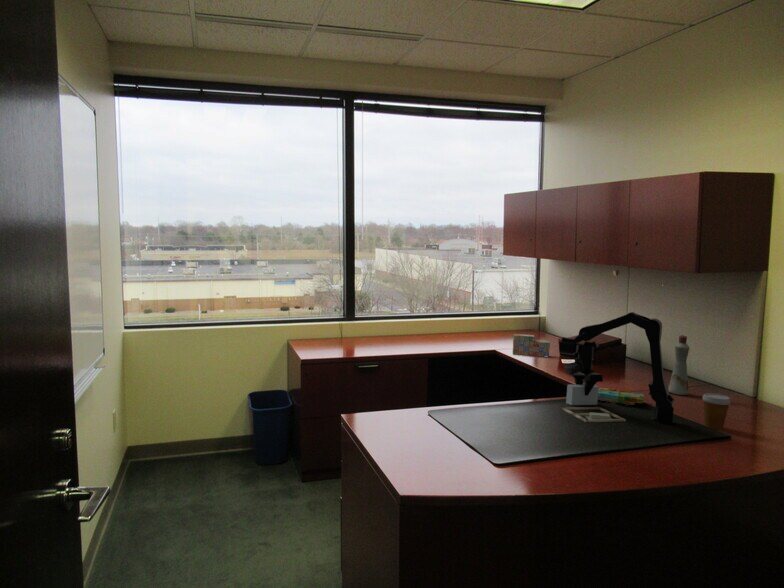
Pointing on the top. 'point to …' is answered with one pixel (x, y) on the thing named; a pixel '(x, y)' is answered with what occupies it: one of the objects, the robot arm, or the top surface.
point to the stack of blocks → (530, 346)
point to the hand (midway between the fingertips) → (582, 393)
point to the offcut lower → (591, 419)
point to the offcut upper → (599, 416)
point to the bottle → (680, 369)
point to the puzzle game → (620, 396)
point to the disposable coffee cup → (715, 410)
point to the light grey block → (581, 395)
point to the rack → (588, 414)
